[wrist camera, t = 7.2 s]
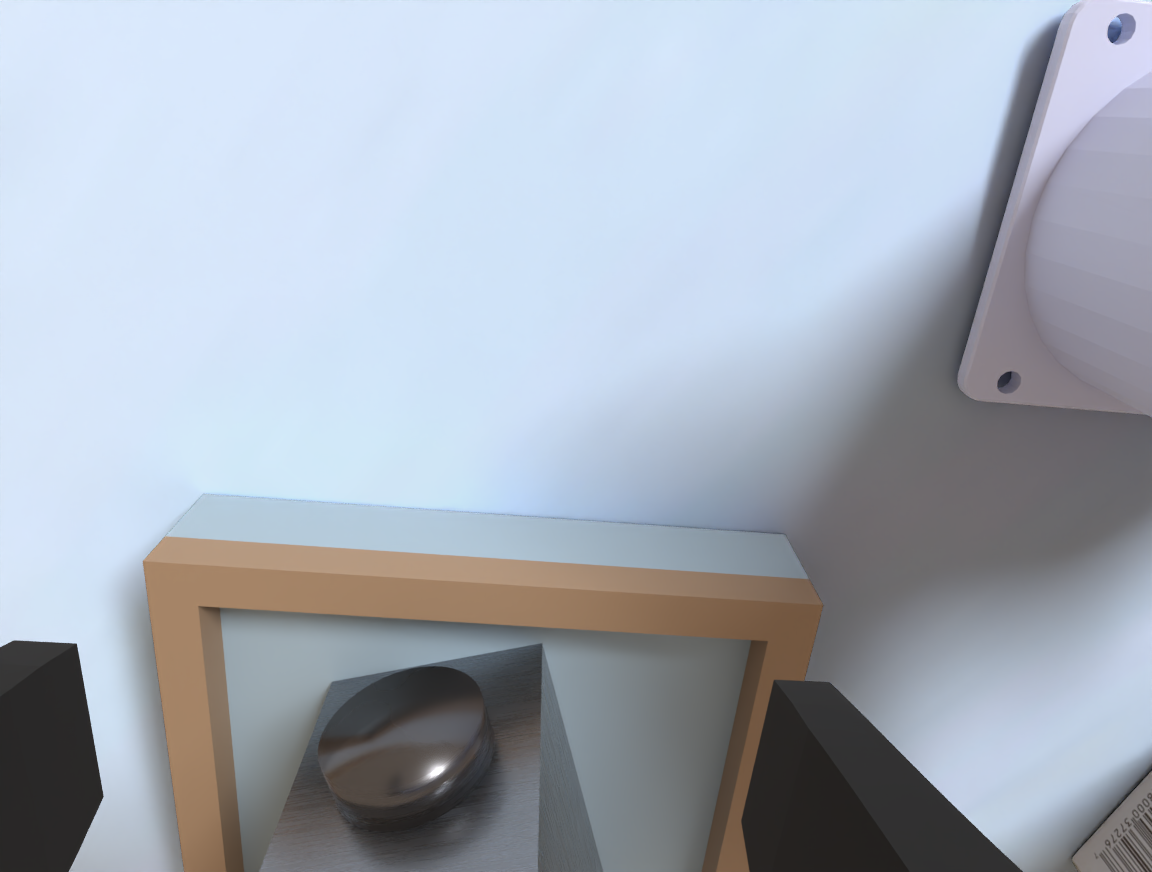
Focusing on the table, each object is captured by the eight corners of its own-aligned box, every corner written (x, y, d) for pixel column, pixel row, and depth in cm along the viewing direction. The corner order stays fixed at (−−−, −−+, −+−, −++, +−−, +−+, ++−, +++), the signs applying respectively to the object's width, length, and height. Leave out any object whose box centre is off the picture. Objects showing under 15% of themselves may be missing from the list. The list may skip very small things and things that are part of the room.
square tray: (785, 534, 20) (823, 605, 17) (698, 924, 25) (717, 1026, 22) (203, 493, 19) (142, 560, 16) (242, 906, 24) (202, 1010, 21)
